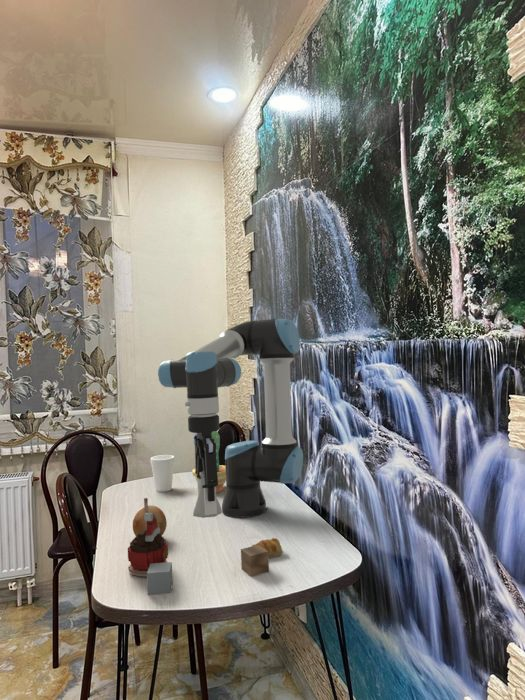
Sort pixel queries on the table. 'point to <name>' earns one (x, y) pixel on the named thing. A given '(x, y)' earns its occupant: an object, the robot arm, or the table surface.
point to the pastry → (271, 547)
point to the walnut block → (254, 560)
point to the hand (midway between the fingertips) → (207, 509)
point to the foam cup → (162, 472)
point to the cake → (147, 546)
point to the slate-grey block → (159, 578)
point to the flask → (200, 505)
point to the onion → (140, 522)
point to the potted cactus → (220, 468)
